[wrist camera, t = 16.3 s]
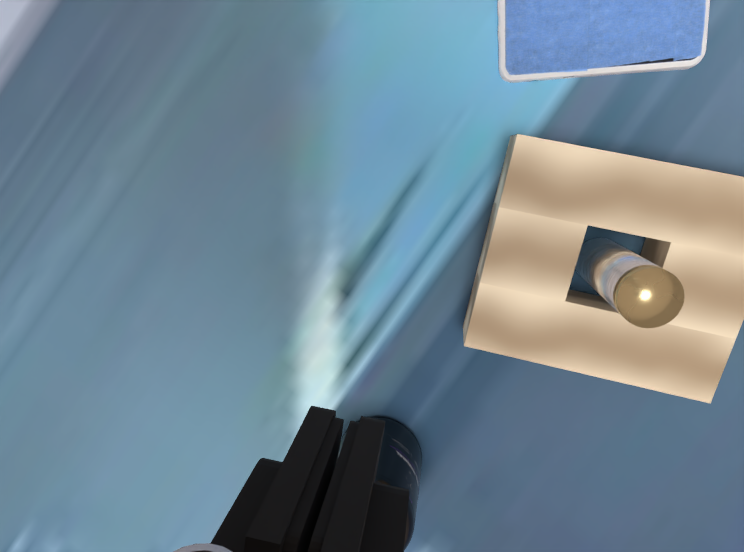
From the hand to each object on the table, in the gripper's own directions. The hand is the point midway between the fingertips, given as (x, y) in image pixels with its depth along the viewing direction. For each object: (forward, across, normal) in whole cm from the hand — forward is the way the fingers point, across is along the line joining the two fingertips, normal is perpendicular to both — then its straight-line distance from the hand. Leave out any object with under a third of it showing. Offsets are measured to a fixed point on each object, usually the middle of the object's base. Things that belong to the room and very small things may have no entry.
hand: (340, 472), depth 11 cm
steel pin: (+28, -13, -1) cm, 30 cm away
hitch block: (+27, -13, -1) cm, 30 cm away
